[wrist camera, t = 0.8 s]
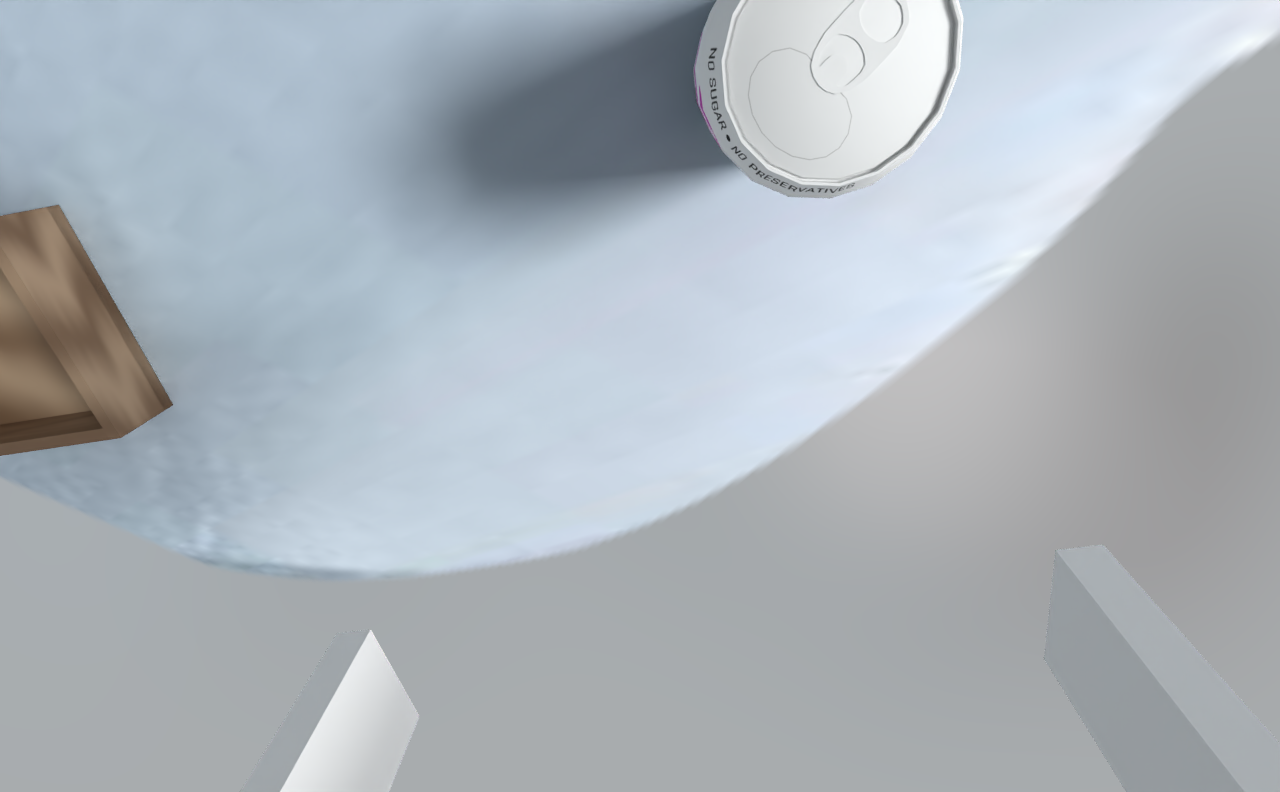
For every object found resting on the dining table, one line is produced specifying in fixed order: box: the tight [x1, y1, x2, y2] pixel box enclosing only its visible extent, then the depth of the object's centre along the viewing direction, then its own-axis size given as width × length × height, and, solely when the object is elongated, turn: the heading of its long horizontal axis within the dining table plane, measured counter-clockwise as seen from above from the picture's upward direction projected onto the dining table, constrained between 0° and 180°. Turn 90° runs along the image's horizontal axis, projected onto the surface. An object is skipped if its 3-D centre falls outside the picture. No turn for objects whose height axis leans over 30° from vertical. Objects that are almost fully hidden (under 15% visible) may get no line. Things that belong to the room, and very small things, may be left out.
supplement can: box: [693, 0, 963, 198], centre depth 25 cm, size 8×8×15 cm
